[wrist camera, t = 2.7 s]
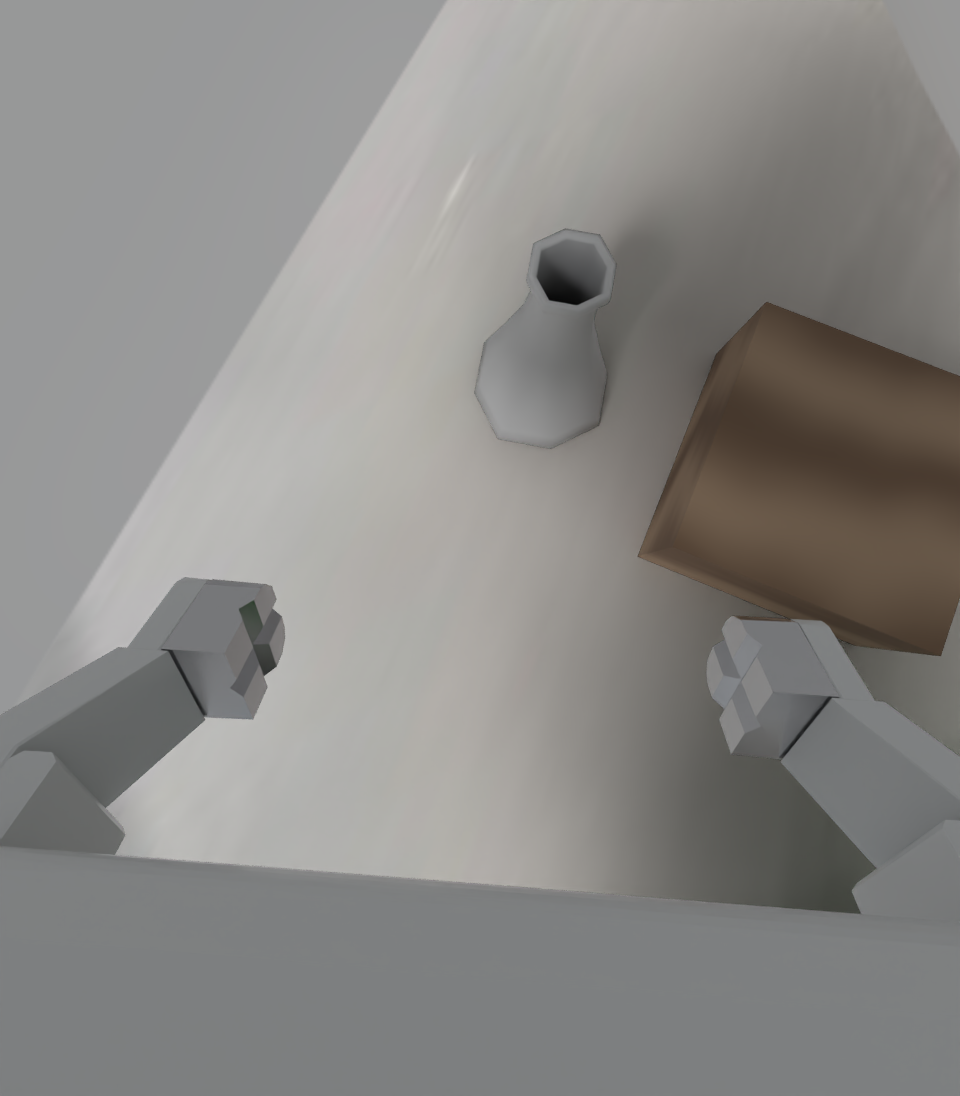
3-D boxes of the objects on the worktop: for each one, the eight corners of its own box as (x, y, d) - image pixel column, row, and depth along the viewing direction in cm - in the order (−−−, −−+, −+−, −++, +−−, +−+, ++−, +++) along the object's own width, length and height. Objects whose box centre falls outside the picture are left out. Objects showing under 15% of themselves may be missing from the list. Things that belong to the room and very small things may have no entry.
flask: (465, 331, 29) (456, 188, 19) (595, 314, 29) (656, 163, 19) (483, 459, 28) (484, 380, 18) (616, 441, 28) (691, 353, 18)
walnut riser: (855, 645, 27) (940, 656, 22) (637, 556, 27) (672, 546, 22) (926, 436, 28) (1023, 401, 23) (716, 354, 28) (766, 301, 23)
